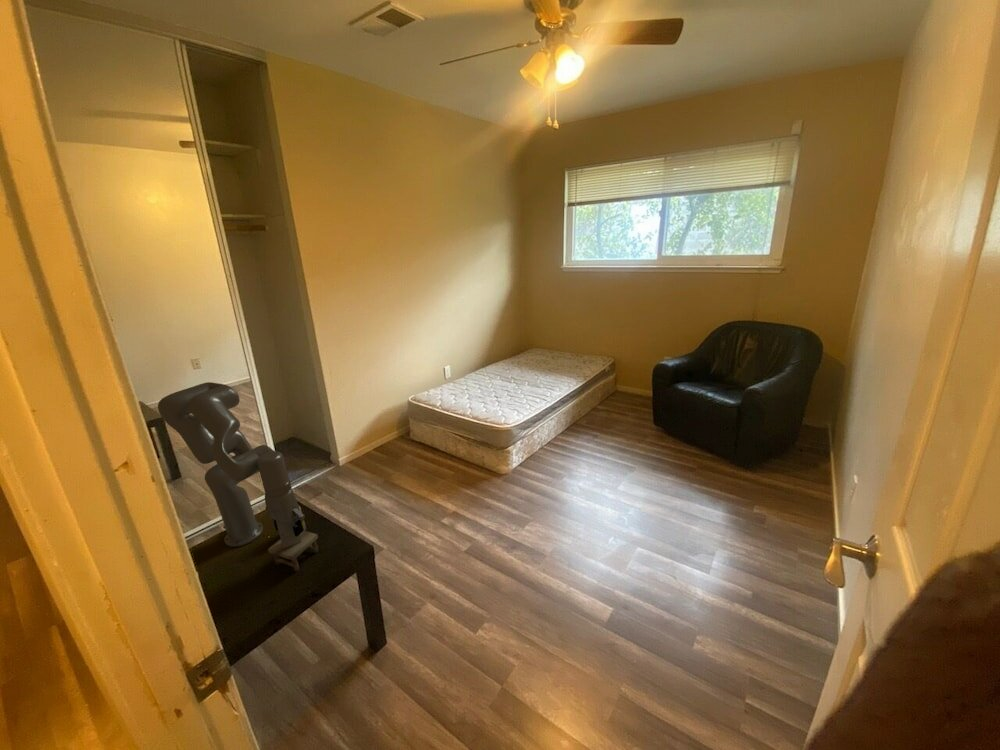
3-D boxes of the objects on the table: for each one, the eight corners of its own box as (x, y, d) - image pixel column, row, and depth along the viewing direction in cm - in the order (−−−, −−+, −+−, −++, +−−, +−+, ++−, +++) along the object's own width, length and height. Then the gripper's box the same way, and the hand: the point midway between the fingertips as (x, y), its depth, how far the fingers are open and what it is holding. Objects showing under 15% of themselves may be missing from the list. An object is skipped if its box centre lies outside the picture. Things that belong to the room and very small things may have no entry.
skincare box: (283, 549, 136) (274, 520, 132) (281, 541, 139) (273, 513, 135) (302, 541, 139) (295, 512, 135) (300, 534, 143) (292, 505, 138)
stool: (272, 565, 139) (267, 549, 136) (298, 542, 148) (294, 527, 146) (296, 573, 135) (292, 557, 132) (321, 549, 144) (317, 534, 142)
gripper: (248, 489, 131) (262, 532, 137) (288, 500, 125) (300, 544, 131) (268, 476, 138) (280, 518, 144) (307, 486, 132) (317, 529, 138)
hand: (289, 530), depth 138 cm, fingers open, 8 cm apart
